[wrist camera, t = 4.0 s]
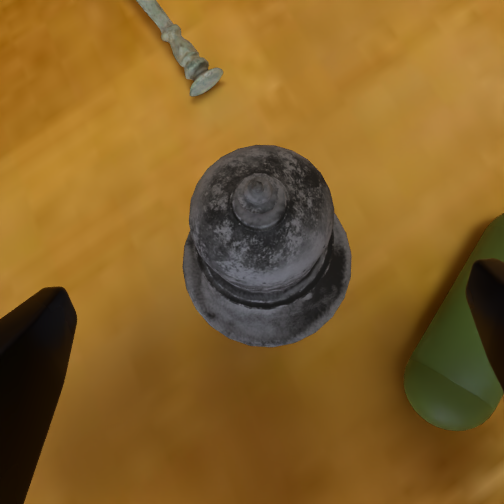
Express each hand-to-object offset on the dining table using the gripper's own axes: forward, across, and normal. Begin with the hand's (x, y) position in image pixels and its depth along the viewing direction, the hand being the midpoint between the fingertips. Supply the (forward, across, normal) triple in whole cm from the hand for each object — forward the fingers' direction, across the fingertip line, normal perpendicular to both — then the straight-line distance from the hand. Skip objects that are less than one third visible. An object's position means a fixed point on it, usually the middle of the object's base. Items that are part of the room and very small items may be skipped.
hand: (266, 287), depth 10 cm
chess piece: (+7, 0, +5) cm, 9 cm away
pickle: (+6, -8, +7) cm, 12 cm away
